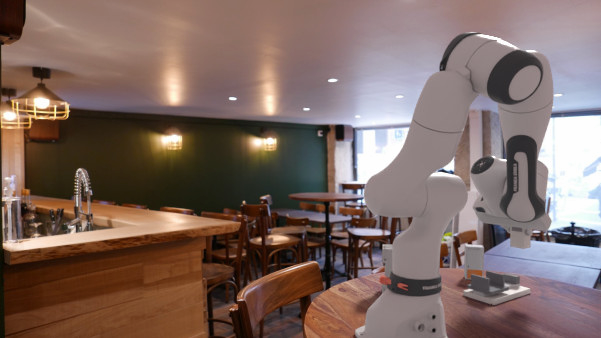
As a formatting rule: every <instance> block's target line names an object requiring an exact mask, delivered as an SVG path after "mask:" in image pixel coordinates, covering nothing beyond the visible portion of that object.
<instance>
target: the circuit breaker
mask: <svg viewBox="0 0 601 338" xmlns="http://www.w3.org/2000/svg"><path fill="white" fill-rule="evenodd" d="M392 245H393V243H392V244H391V243H390V244H389V243H386V244H384V243H383V244H382V247H381V248H382V249H381V264H384V275H383V274H382V275H383V276H386V277H390V273H391V271H392ZM386 289H387V285H385V284H381V295H382V294H383V292H384V291H385V290H386Z"/></svg>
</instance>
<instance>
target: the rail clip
mask: <svg viewBox="0 0 601 338" xmlns="http://www.w3.org/2000/svg"><path fill="white" fill-rule="evenodd" d="M520 278H521V276H520V275H516V274H512V273H508V272H504V273H499V272H495V271H492V270H485V276H484V277H482V276H478V275H474V274H471V280H470V283H469V284H466V288H467V290H468V289H472V290H473V294H476V295H479V296H482V297H485V296H488V295H495V294H498V293H501V292H504V291H508V290H509V289H511V288H514V287H518V286H521V281H520V280H521V279H520Z"/></svg>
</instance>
